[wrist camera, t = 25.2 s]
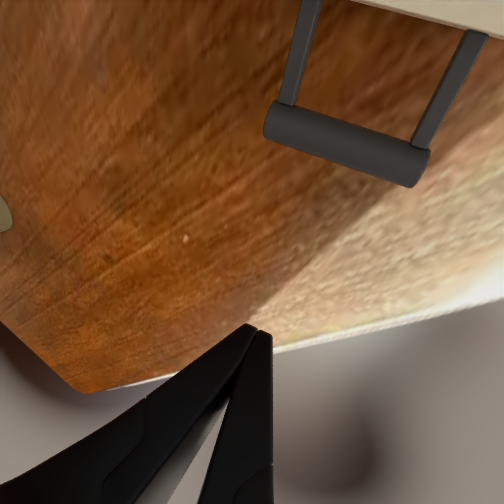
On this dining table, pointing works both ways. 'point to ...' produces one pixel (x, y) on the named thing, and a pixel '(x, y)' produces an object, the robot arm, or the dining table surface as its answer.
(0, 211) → the olive game pawn
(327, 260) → the dining table surface
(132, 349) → the dining table surface
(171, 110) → the dining table surface
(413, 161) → the drawer
